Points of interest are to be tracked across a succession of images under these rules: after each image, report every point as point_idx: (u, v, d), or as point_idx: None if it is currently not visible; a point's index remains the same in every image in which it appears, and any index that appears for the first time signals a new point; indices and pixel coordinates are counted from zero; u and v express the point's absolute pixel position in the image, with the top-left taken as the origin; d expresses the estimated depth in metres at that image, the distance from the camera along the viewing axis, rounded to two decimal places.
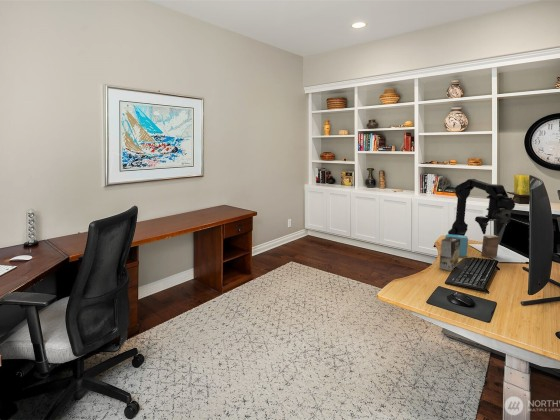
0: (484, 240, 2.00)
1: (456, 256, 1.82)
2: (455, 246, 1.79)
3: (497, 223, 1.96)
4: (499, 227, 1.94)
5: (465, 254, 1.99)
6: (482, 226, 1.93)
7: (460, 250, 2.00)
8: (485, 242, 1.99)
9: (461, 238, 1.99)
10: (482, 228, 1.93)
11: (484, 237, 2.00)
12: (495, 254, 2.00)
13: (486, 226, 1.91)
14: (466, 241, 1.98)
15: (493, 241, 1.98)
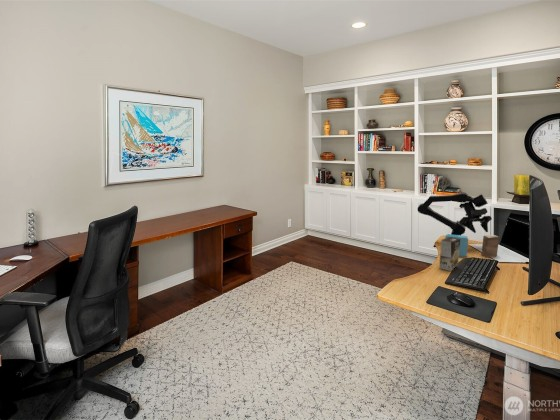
0: (484, 240, 2.00)
1: (456, 256, 1.82)
2: (456, 246, 1.79)
3: (482, 225, 2.11)
4: (485, 226, 2.08)
5: (465, 254, 1.99)
6: (469, 226, 2.08)
7: (460, 250, 2.00)
8: (485, 242, 1.99)
9: (461, 238, 1.99)
10: (470, 228, 2.07)
11: (484, 237, 2.00)
12: (495, 254, 2.00)
13: (472, 224, 2.07)
14: (466, 241, 1.98)
15: (493, 241, 1.98)
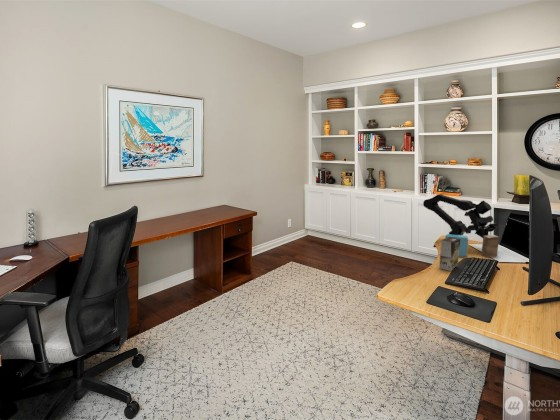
0: (484, 240, 2.00)
1: (456, 256, 1.82)
2: (455, 246, 1.79)
3: None
4: (485, 234, 2.04)
5: (465, 254, 1.99)
6: (481, 234, 2.04)
7: (460, 250, 2.00)
8: (485, 242, 1.99)
9: (461, 238, 1.99)
10: (482, 236, 2.04)
11: (484, 237, 2.00)
12: (495, 254, 2.00)
13: (484, 232, 2.03)
14: (466, 241, 1.98)
15: (493, 241, 1.98)
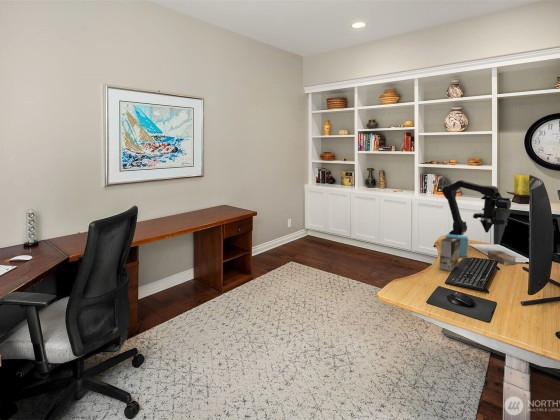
0: (500, 258, 1.89)
1: (456, 256, 1.82)
2: (455, 246, 1.79)
3: (484, 223, 2.06)
4: None
5: (465, 254, 1.99)
6: (488, 225, 2.05)
7: (460, 250, 2.00)
8: (499, 259, 1.90)
9: (461, 238, 1.99)
10: (488, 227, 2.05)
11: (503, 259, 1.87)
12: None
13: None
14: (466, 241, 1.98)
15: None
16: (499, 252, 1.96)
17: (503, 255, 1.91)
